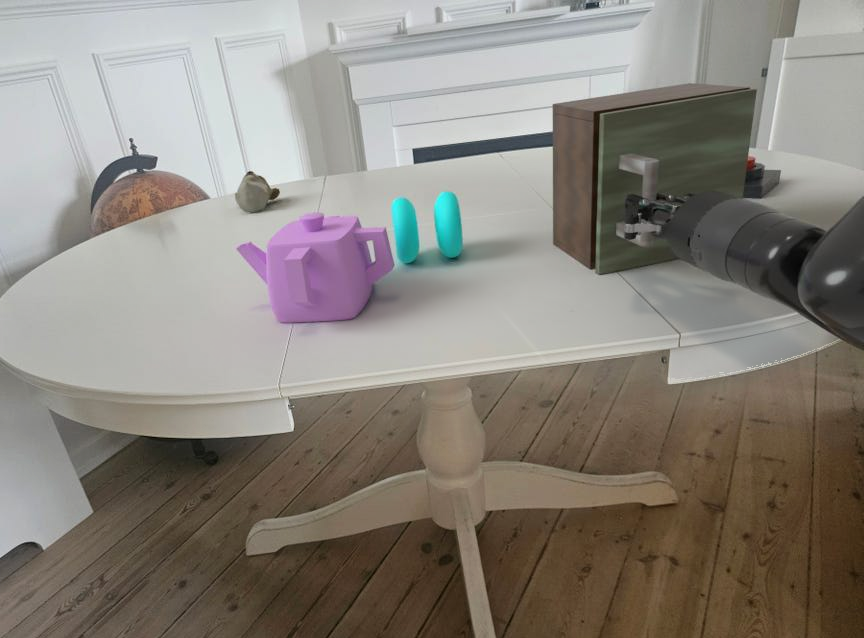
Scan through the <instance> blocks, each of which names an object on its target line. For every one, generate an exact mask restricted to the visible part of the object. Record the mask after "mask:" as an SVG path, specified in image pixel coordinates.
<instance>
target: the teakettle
mask: <svg viewBox="0 0 864 638" xmlns="http://www.w3.org/2000/svg"><path fill="white" fill-rule="evenodd" d="M368 242H372V245H373V251H374V252H373V253H374V260H375V261H372V256H371V252H370V247H369V243H368ZM265 250H266V251H263V250H262V249H261V248H259V247H258V246H256V245H255V244H254V243H253V242H252V241H247V242H245V243H242V244H239V245H238V246H237V247H236V251H237V252H238V253H239V254H240V255H241V256H242V258H243V259H244V260H245V261H246V262H247V264H249V266H250V267H251V268H252V269H253V270H254V272H255V273H256V274H257V275H258V276H259V278H261V279H262V281H263V282H264V283H265V284H266V285H267V291H268V299H269V305H270V309H271V311H272V313H273V316H274V317H275V319H276V320H277V321H278V323H281V324H283V323H284V324H285V323H287V324H289V323H292V324H293V323H317V322H335V321H346V320H353V319H354V318H356V317H357V316H359V315H360V313H361V312H362V311H363V310H364V308H365V307H366V305H367V304H368V302H369V300H370V298H371V294H372V291H373V285H374V283H375V282H377V281H378V280H380V279H381V278H383V277H385V276H386V275H388V274H389V273H391V272H392V271H393V269H394V267H395V261H394V257H393V252H392V248H391V243H390V239H389V236H388V230H387V226H382V227H381V226H380V227H363V226H362V224H361V222H360V219H359V217H358V216H357V215H344V216H339V215H332V216H327V217H325V214H324V213H323V212H319V211H318V212H317V211H314V212H308V213H303V214H302V215H300V216H299V219H297V220H293V221H290V222H289V223H287V224H286V225H284V226H283V227H282V228H280V229H279V230H278V231H277V232H276V233H274V234H273V236H271V238H270V239H269V240H268V242H267V244H266V249H265Z"/></svg>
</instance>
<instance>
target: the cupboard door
mask: <svg viewBox="0 0 864 638" xmlns="http://www.w3.org/2000/svg"><path fill="white" fill-rule="evenodd" d="M757 92H758V88H750V89H747V90H741V91H735V92H729V93H723V94H717V95H711V96H705V97H699V98H693V99H687V100H681V101H674V102H668V103H662V104H656V105H650V106H644V107H638V108H632V109H626V110H620V111H614V112H608V113H602V114H600V128H599V164H598V199H597V234H596V269H594V270H595V274H597V275H604V274H608V273H609V274H610V273H614V272H620V271H625V270H630V269H635V268H640V267H645V266H650V265H655V264H659V263H664V262H670V261H674V260H681V259H680V258H679V257H677V256H676V255H675V254H674V252H673V251H672V249H671V247H670V245H669V244H668V242H667V241H666V240H665V239H660V238H655V237H653V236H652V235H651V233H650V232H641V235H639V236H637V235H636V238H635V239H632V240H628V239H625V238H624V232H625V215H626V212H625V199H627V196H628V195H631V194H635V195H638V196H641V197H643V198H646V199H648V200H651V201H655V200H656V198H657V193H659V194H661V195H664V196H669V195H675V196H678V197H679V196H683V195H685V194H688V193H690V194H698V193H701V192H705V191H720V192H723V193H726V194H730V195H733V196H736V197H739V198H743V191H744V184H745V176H746V169H747V161H748V156H749V153H750V147H751V145H750V143H751V138H752V130H753V123H754V114H755V109H756V108H755V107H756V100H757V94H758V93H757ZM743 199H744V198H743Z"/></svg>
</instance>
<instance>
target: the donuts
mask: <svg viewBox="0 0 864 638" xmlns="http://www.w3.org/2000/svg"><path fill="white" fill-rule="evenodd" d="M390 209H391V216H392V225H393V226H392V227H393V235H394V240H395V241H394V243H395V249H396V250H395V251H396V256H397V259H398V261H399V262H400V263H403V264H411V263H412V262H414V261H415V259H416V258H417V257H418V255H419V252H420V235H419V226H418V219H417V211H416V209H415V206H414V204H413V203H412V201H410V199H408V198H407V197H404V196H399V197H397V198H395V199H394V200H393V201H392V203H391V208H390ZM433 219H434V229H435V237H436V243H437V246H438V248H439V251H440V252H441V254H443V255H444V256H445V257H446V258H449V259H453V258H456V257H458V256H460V255H461V254H462V250H463V240H464V239H463V225H462V217H461V209H460V203H459V199H458V197H457V195H456V194H455V193H454V192H453V191H450V190H447V191H443V192H441V193H439V195H438V196H437V197H436V199H435V202H434V206H433Z"/></svg>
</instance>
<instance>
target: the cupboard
mask: <svg viewBox="0 0 864 638" xmlns="http://www.w3.org/2000/svg"><path fill="white" fill-rule="evenodd" d="M747 89H751V87H750V86H737V85H736V86H735V85H723V84H722V85H720V84H705V83H692V82H689V83H688V82H687V83H682V84H675V85H668V86H662V87H656V88H650V89H643V90H636V91H629V92H628V91H627V92H622V93H616V94H610V95H603V96H597V97H590V98H584V99H577V100H570V101H564V102H557V103H556V102H555V103H552V245H553V246H555V247H556V248H557V249H559V250H560V251H562V252H563V253H565V254H567V255H568V256H569V257H571V258H572V259H573V260H575V261H577V262H578V263H579V264H581V265H583V267H585V268H587V270H591V271H592V270H596V234H597V199H598V164H599V128H600V114H602V113H608V112H614V111H620V110H626V109H632V108H638V107H644V106H650V105H656V104H662V103H668V102H674V101H681V100H687V99H693V98H699V97H705V96H711V95H717V94H723V93H729V92H735V91H741V90H747Z"/></svg>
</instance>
